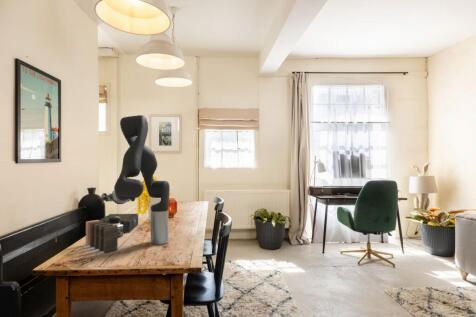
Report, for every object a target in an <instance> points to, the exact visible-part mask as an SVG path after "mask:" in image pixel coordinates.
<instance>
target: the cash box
mask: <svg viewBox="0 0 476 317" xmlns="http://www.w3.org/2000/svg"><path fill="white" fill-rule="evenodd" d="M110 217H120V225H123V234H128V233H131V232H132V231H133V230H134V229H135V228H136V227H138V225H139V214H138V213H110V214H108V215H106V216H104V217H103V218H100V219H98V220H99V222H100V221H103V223H108V224H109V218H110Z"/></svg>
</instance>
